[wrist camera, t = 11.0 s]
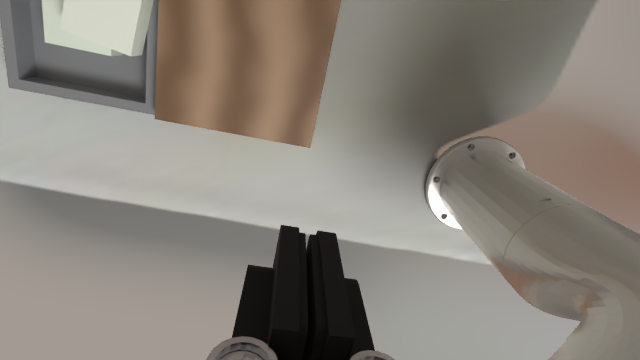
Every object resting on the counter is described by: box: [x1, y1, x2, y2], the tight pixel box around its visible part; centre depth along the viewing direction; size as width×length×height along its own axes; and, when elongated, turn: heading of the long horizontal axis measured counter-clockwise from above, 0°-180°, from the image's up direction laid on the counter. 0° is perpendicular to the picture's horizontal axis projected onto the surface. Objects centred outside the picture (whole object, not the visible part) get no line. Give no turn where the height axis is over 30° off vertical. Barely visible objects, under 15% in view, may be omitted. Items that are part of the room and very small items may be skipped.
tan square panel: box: [155, 0, 341, 148], centre depth 35 cm, size 16×16×4 cm
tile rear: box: [42, 0, 123, 56], centre depth 33 cm, size 6×6×2 cm
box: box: [0, 0, 159, 115], centre depth 34 cm, size 14×16×3 cm
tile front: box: [60, 0, 154, 56], centre depth 31 cm, size 6×6×2 cm
